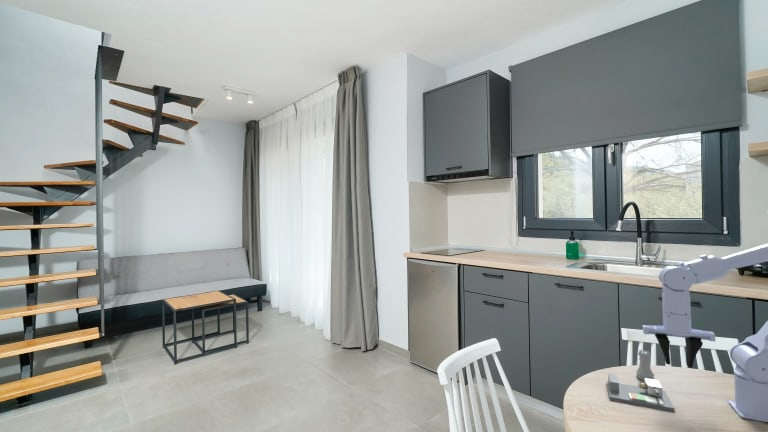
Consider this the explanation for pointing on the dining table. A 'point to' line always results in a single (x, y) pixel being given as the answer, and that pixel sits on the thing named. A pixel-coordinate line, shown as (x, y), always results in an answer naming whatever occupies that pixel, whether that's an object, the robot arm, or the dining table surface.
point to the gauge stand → (636, 395)
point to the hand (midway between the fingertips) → (678, 364)
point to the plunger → (652, 387)
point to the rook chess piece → (644, 366)
